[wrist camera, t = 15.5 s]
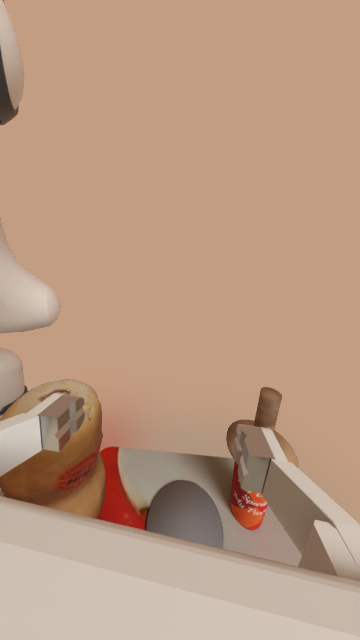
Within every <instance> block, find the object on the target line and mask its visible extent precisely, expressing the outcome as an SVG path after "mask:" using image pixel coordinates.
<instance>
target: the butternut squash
mask: <svg viewBox="0 0 360 640" xmlns="http://www.w3.org/2000/svg"><path fill="white" fill-rule="evenodd" d="M54 393H62V394H68V395H73V396H78V397H82V398H84V402H85V404H84V405H83V407H82V408H83V409H84V411H85V417H84V421H83V423H82V425H81V427H80V428H79V429H78V430H77V432H75V433H73V434H71V435H70V440H69V441H68V442H67V443H66V445H65V446H64V447H63V448H62V449H61V451H60V452H57V451H51V450H45V449H42V451H40V452H38V453H37V454H35V455H34V456H32V457H30V458H29V459H27V460H26V461H24V462H23V463H21V464H19V465H18V466H16V467H15V468H13V469H11V470H10V471H8V472H7V473H5V474H4V475H2V476H0V487H1V489H2V491H3V492H4V494H5V497H6V498H10V499H15V500H19V501H23V502H27V503H31V504H36V505H40V506H44V507H48V508H52V509H57V510H61V511H65V512H69V513H73V514H78V515H82V516H86V517H90V518H94V519H97V518H98V515H99V513H100V510H101V507H102V504H103V500H104V494H105V488H106V472H105V467H104V463H103V460H102V457H101V454H100V452H99V449H100V445H101V441H102V436H103V435H102V431H101V426H102V411H101V404H100V402H99V400H98V397H97V394H96V392H95V391H94V389H93V388H91V387H90V386H88V385H87V384H85V383H82V382H79V381H76V380H69V379H66V380H60V381H55V382H49V383H45V384H42V385H40V386H38V387H36V388H33V389H31V390H30V391H28V392H26V393H25V394H23V395H22V396H21V397H20V398H18V399H17V400H16V401H15V402H14V403H13V404H12V405H11V406H10V407H9V408H8V409H7V411H6V412H5V413H4V414H3V416H2V418H1V419H0V421H3V420H5V419H8V418H11V417H14V416H16V415H19V414H22V413H25V414H26V413H28V412H29V411H30V410H32V409H33V408H34V407H36V406H37V405H38V404H40V403H41V402H43V401H44V400H45V399H47V398H48V397H49V396H51V395H52V394H54Z"/></svg>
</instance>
